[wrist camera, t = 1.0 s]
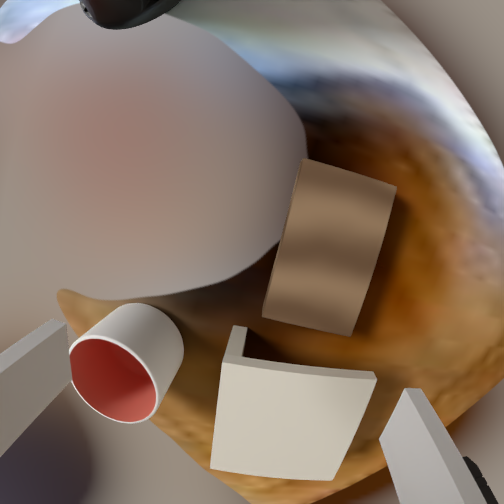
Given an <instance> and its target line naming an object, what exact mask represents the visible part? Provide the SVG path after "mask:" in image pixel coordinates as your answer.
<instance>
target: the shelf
mask: <svg viewBox="0 0 504 504" xmlns="http://www.w3.org/2000/svg"><path fill="white" fill-rule="evenodd" d="M246 333H247V327H241V326H235V325H234V326H233V329H232V332H231V336H230V339H229V342H228V345H227V348H226V352H225V355H224V358H223V361H222V368H221V376H220V385H219V393H218V401H217V410H216V419H215V427H214V436H213V445H212V454H211V463H210V468H211V469H216V470H222V471H228V472H234V473H241V474H248V475H255V476H264V477H274V478H286V479H301V480H333V478H334V476H335V474H336V473H337V471H338V469H339V467H340V465H341V463H342V461H343V459H344V457H345V454H346V452H347V450H348V448H349V446H350V444H351V442H352V440H353V437H354V435H355V433H356V431H357V428H358V426H359V424H360V422H361V419H362V417H363V414H364V412H365V410H366V407H367V405H368V402H369V400H370V397H371V395H372V392H373V390H374V387H375V384H376V382H377V378H376V376H375V374H374V372H373V371H359V370H346V369H334V368H324V367H314V366H305V365H296V364H288V363H281V362H273V361H266V360H259V359H253V358H246V357H243V353H244V346H245V340H246Z"/></svg>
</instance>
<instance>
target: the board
mask: <svg viewBox="0 0 504 504" xmlns="http://www.w3.org/2000/svg"><path fill="white" fill-rule="evenodd" d="M396 189H397V187H396V186H393V185H390V184H387V183H384V182H381V181H378V180H375V179H372V178H369V177H366V176H363V175H360V174H357V173H353V172H350V171H347V170H344V169H340V168H337V167H334V166H330V165H327V164H323V163H320V162H316V161H313V160H309V159H305V158H303V160H302V161H301V162H300V165H299V169H298V173H297V177H296V181H295V185H294V189H293V193H292V197H291V201H290V205H289V209H288V213H287V217H286V220H285V224H284V228H283V232H282V236H281V239H280V244H279V248H278V252H277V255H276V259H275V263H274V267H273V270H272V274H271V278H270V281H269V285H268V289H267V292H266V296H265V300H264V303H263V312H262V317H265V318H269V319H273V320H277V321H281V322H286V323H290V324H294V325H298V326H303V327H307V328H312V329H316V330H321V331H325V332H330V333H335V334H339V335H344V336H349V337H351V334H352V332H353V329H354V326H355V324H356V321H357V318H358V315H359V313H360V310H361V307H362V304H363V301H364V298H365V296H366V293H367V290H368V287H369V284H370V281H371V278H372V275H373V271H374V268H375V265H376V262H377V259H378V255H379V252H380V249H381V245H382V242H383V238H384V235H385V231H386V228H387V224H388V220H389V217H390V213H391V209H392V205H393V201H394V197H395V193H396Z"/></svg>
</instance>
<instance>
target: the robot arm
mask: <svg viewBox="0 0 504 504" xmlns="http://www.w3.org/2000/svg"><path fill="white" fill-rule="evenodd" d="M79 1H80V4H81V7H82V10H83V12H84V13H85V14H86V16H87V17H88V18H89V19H91V20H92V21H93V22H94V23H96V24H97V25H99V26H100V27H103V28H106V29H116V30H117V29H127V28H132V27H136V26H139V25H142V24H144V23H147V22H149V21H151V20H153V19H155V18H157V17H159V16H161V15H162V14H164V13H166V12H167V11H168V10H170V9H171V8H173V7H174V6H175V5H176V4H177V3H178V2H180V1H181V0H79ZM72 380H73V379H72V372H71V364H70V356H69V347H68V336H67V325H66V323H63V322H60V321H58V320H55V319H51V320H49V321H47V322H46V323H44V324H43V325H42V326H40V327H39V328H37V329H36V330H34V331H33V332H31V333H30V334H28V335H27V336H25V337H24V338H22V339H21V340H20V341H18V342H17V343H16V344H14V345H12V346H11V347H10V348H8V349H7V350H5V351H4V352H2V353H1V354H0V457H1V456H2V455H3V453H4V452H5V451H6V450H7V449H8V448H9V447H10V446H11V445H12V443H13V442H14V441H15V440H16V439H17V438H18V437H19V436H20V435H21V434H22V432H23V431H24V430H25V429H26V428H27V427H28V426H29V425H30V424H31V423H32V422H33V421H34V420H35V418H36V417H37V416H38V415H39V414H40V413H41V412H42V411H43V410H44V409H45V408H46V407H47V405H49V404H50V402H51V401H52V400H53V399H54V398H55V397H56V396H57V395H58V394H59V393H60V392H61V391H62V390H63V389H64V388H65V387H66V385H68V384H69V383H70V381H72ZM379 441H380V444H381V447H382V449H383V452H384V455H385V458H386V461H387V464H388V467H389V470H390V473H391V476H392V479H393V482H394V485H395V489H396V492H397V495H398V498H399V501H400V504H498V502H497V500H496V498H495V496H494V495H493V493H492V491H491V489H490V487H489V486H487V482H486V480H485V478H484V477H482V473H481V472H480V470H479V468H478V466H477V465H476V464H475V463H474V462H473V461H471V459H469V458H468V457H467V456H466V457H462V456H461V455H460V453H459V451H458V449H457V448H456V446H455V444H454V442H453V441H452V439H451V437H450V436H449V434H448V432H447V430H446V429H445V427H444V425H443V424H442V422H441V420H440V419H439V417H438V415H437V414H436V412H435V411H434V409H433V407H432V406H431V404H430V402H429V401H428V399H427V398H426V396H425V394H424V393H423V391H422V390H421V389H418V388H404V390H403V393H402V395H401V397H400V399H399V401H398V403H397V405H396V407H395V409H394V411H393V413H392V415H391V417H390V419H389V421H388V423H387V425H386V427H385V429H384V431H383V432H382V434H381V436H380V438H379Z"/></svg>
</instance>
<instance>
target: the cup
mask: <svg viewBox="0 0 504 504" xmlns="http://www.w3.org/2000/svg"><path fill="white" fill-rule="evenodd" d="M69 356H70V364H71V372H72V379H73V380H72V381H71V382H72V384H73V386H74V388H75V389H76V391H77V392H78V393H79V395H80V396H81V398H82V399H83V400H84V401H85V402H86V403H87V404H88V405H89V406H90V407H91V408H93V409H94V410H95V411H97V412H98V413H100V414H101V415H103V416H105V417H107V418H109V419H111V420H114V421H117V422H121V423H140V422H143V421H145V420H147V419H149V418H150V417H152V416H153V415H154V414H155V412H156V411H157V409H158V407H159V405H160V403H161V401H162V399H163V398H164V396H165V394H166V392H167V390H168V388H169V386H170V384H171V382H172V381H173V379H174V377H175V375H176V373H177V371H178V369H179V367H180V365H181V363H182V360H183V356H184V346H183V340H182V337H181V334H180V332H179V330H178V329H177V327H176V325H175V324H174V323H173V321H172V320H171V319H170V318H169V317H168V316H167V315H166V314H164V313H163V312H162V311H160V310H158V309H156V308H154V307H152V306H150V305H146V304H142V303H130V304H125V305H123V306H120V307H118V308H117V309H115V310H114V311H113V312H111V313H110V314H109V315H108V316H106V317H105V318H104V319H103V320H101V321H100V322H99V323H97V324H96V325H95V326H94V327H92V328H91V329H90V330H89V331H87V332H86V333H85V334H84V335H82V336H81V337H80V338H79V339H78V340H77V341H75V342H74V343H73V344H72V346H71V348H70V349H69Z"/></svg>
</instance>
